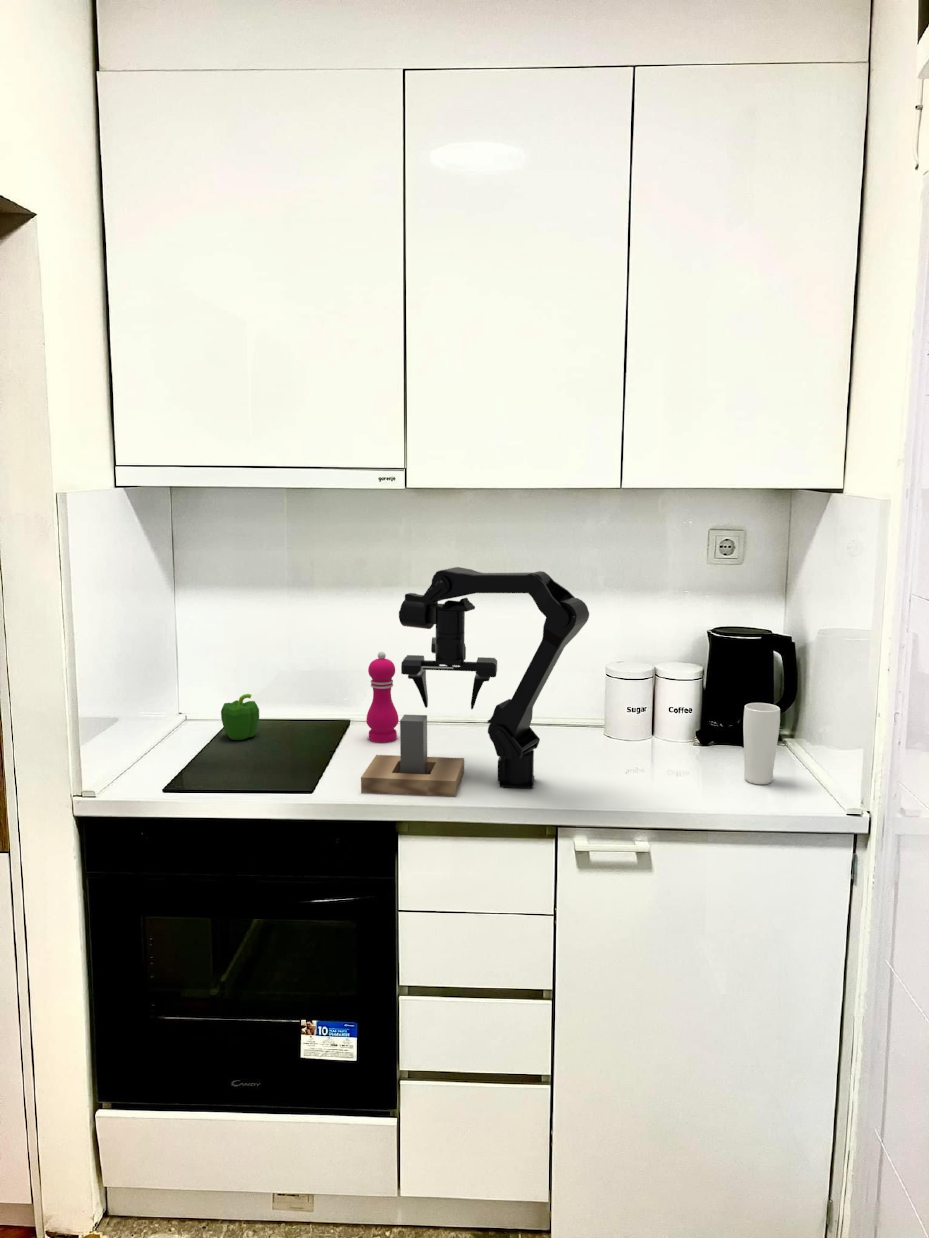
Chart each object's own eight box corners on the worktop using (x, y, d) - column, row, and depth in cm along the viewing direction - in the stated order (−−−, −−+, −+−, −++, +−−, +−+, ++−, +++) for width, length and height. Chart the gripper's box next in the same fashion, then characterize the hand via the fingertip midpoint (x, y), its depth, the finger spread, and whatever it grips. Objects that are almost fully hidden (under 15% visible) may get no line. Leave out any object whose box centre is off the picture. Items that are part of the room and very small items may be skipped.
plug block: (427, 778, 191) (427, 715, 189) (423, 786, 187) (423, 721, 184) (404, 778, 191) (404, 714, 189) (400, 785, 187) (400, 720, 185)
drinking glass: (761, 773, 194) (765, 701, 192) (783, 784, 188) (788, 709, 186) (733, 777, 192) (736, 704, 189) (754, 788, 186) (758, 712, 183)
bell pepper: (216, 742, 215) (214, 698, 213) (229, 731, 223) (228, 689, 222) (252, 743, 214) (250, 699, 212) (265, 733, 222) (263, 690, 220)
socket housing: (464, 772, 195) (464, 758, 194) (455, 796, 181) (455, 781, 181) (376, 768, 197) (376, 754, 196) (361, 792, 183) (360, 777, 183)
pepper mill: (397, 743, 214) (396, 655, 211) (364, 743, 214) (363, 655, 211) (399, 734, 221) (399, 648, 218) (368, 734, 221) (367, 648, 218)
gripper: (499, 625, 198) (497, 699, 201) (409, 622, 199) (408, 696, 202) (496, 635, 187) (494, 713, 190) (400, 633, 189) (400, 710, 191)
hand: (449, 707), depth 194 cm, fingers open, 9 cm apart
